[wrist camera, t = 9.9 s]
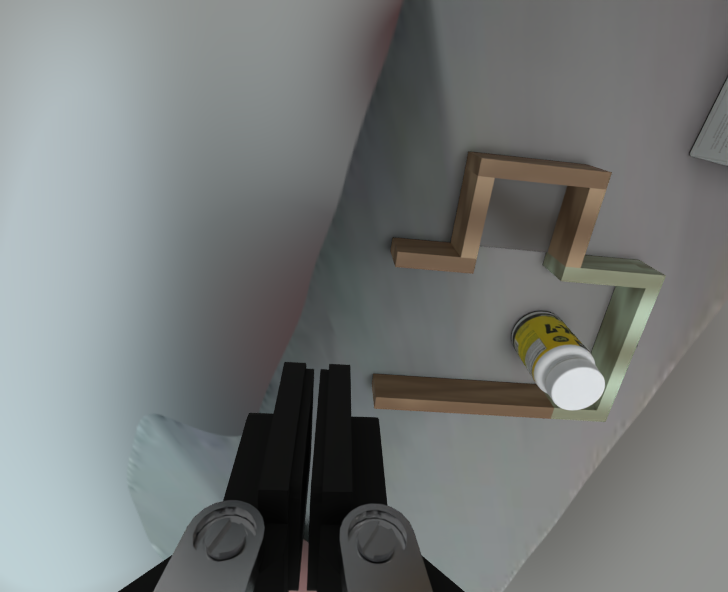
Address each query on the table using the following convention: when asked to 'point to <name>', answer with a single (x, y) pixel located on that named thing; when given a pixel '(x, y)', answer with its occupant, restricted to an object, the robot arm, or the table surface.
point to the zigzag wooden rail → (563, 259)
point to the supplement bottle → (557, 361)
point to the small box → (714, 132)
